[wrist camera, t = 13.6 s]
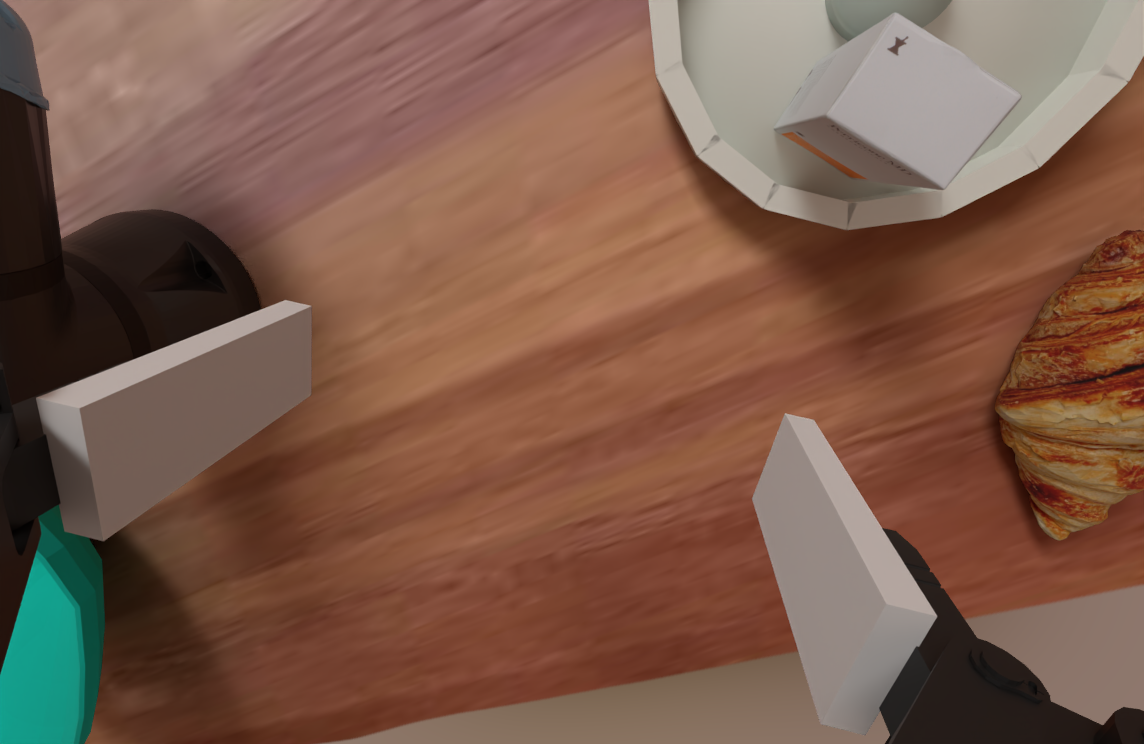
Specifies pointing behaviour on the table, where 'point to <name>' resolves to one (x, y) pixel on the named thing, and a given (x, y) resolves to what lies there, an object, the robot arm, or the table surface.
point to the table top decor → (55, 643)
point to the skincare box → (897, 107)
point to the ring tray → (834, 17)
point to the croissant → (1082, 392)
